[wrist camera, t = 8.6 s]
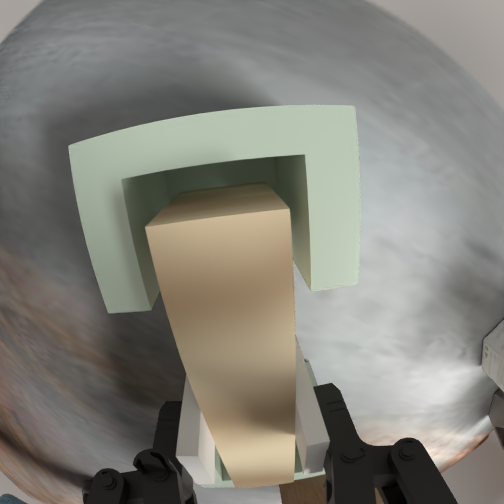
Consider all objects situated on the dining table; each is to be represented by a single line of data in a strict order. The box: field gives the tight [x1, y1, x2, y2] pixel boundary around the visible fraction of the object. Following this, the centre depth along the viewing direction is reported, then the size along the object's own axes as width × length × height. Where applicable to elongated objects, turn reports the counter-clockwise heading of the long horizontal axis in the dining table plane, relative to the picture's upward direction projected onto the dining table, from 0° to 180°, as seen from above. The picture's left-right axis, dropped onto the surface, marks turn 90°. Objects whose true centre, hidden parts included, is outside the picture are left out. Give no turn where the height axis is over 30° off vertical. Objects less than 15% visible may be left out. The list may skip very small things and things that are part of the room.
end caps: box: [68, 105, 360, 488], centre depth 14 cm, size 22×9×7 cm, turn 6°
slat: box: [145, 182, 296, 488], centre depth 12 cm, size 16×4×5 cm, turn 6°
